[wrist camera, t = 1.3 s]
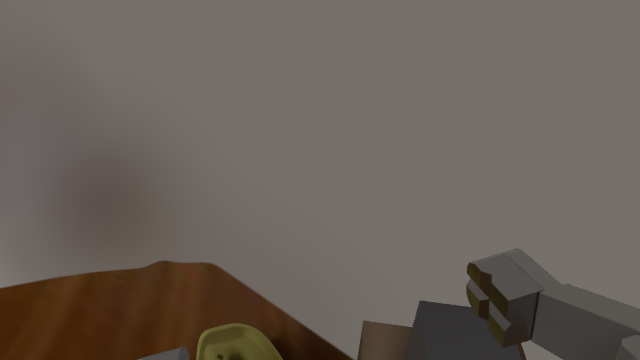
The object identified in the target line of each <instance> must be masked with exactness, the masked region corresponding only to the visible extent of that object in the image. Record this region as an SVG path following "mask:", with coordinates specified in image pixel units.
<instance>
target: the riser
mask: <svg viewBox="0 0 640 360" xmlns="http://www.w3.org/2000/svg"><path fill="white" fill-rule="evenodd" d="M411 331H412V327H405V326H397V325H391V324H383V323H375V322H369V321H363V328H362V334H361V340H360V346H359V353H358V359H357V360H407V352H406V349H407V346H408V342H409V338H410V335H411ZM517 347H518V350H519V353H520V356H521V359H522V360H526V357H525V354H524V351H523V348H522V345H521V343H519V344H517Z"/></svg>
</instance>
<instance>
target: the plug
mask: <svg viewBox="0 0 640 360" xmlns="http://www.w3.org/2000/svg"><path fill="white" fill-rule="evenodd" d="M406 352H407V360H522V359H521V356H520V353H519V350H518V347H517V344H515V345H512V346H509V347H505V348H503V347H502V346H501V345H500V344H499V342H498V341H497V340H496V339H495V337H494V336H493V335H492V333H491V332H490V331H489V330H488V321H487V320H485V319H483V318H480V317H478V315H477V314H476V313H475V311H474V310H473V308H472V307H464V306H457V305H449V304H441V303H434V302H427V301H420V302H419V306H418V309H417V313H416V317H415V320H414V324H413V327H412V331H411V335H410V338H409V342H408V346H407V349H406Z"/></svg>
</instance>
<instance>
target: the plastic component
mask: <svg viewBox="0 0 640 360" xmlns="http://www.w3.org/2000/svg"><path fill="white" fill-rule="evenodd" d="M217 357H220V358H221V359H222V360H283V359H282V357H281V356H280V354H279V353H278V351H277V350H276V348H275V347H274V346H273V344H272V343H271V342H270V341H269V339H268V338H267V337H266V336H265V335H264V334H263V333H261V332H260V331H259V330H257V329H255V328H253V327H251V326H248V325H245V324H237V323H235V324H227V325H223V326H219V327H215V328H211V329H208V330H206V331H204V333H203V334H202V335H201V337H200V339H199V343H198V348H197V355H196V360H220V359H218V358H217Z"/></svg>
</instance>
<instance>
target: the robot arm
mask: <svg viewBox="0 0 640 360" xmlns="http://www.w3.org/2000/svg"><path fill="white" fill-rule="evenodd" d="M467 274H468V275H469V276H470V278H471V279H470V280H469V282H468V283H467V286H466V289H467V296H468V300H469V303H470V305H471V307H472V308H473V310H474V311H475V313H476V314H477V315H478V317H480V318H483V319H485V320H487V321H488V330H489V331H490V332H491V333H492V335H493V336H494V337H495V339H496V340H497V341H498V342H499V344H500V345H501V346H502V347H503V348H505V347H509V346H512V345H515V344H519V343H522V342H526V341H529V340H532V342H534V343H535V344H537V345H539V346H541V347H543V348H544V349H546V350H547V351H549V352H551V353H553V354H554V355H556V356H558V357H560V358H561V359H563V360H640V309H638V308H636V307H633V306H630V305H627V304H624V303H621V302H618V301H616V300H613V299H610V298H607V297H604V296H601V295H598V294H595V293H592V292H590V291H587V290H584V289H581V288H578V287H575V286H572V285H570V284H564V285H561V284H560V283H559V282H558V281H557V280H556V279H555V278H554V277H552V276H551V275H550V274H549V273H548V272H547V271H545V270H544V269H543V268H542V267H541V266H539V264H537V263H536V262H535V261H534V260H533V259H532V258H530V257H529V256H528V255H527V254H526V253H525V252H523V251H522V250H520V249H513V250H510V251H507V252H503V253H501V254H497V255H493V256H490V257H487V258H483V259H480V260H477V261H473V262H470V263H469V264H468V266H467ZM138 360H189V354H188V352H187V351H186V349H185V348H178V349H174V350H171V351H167V352H163V353H159V354H156V355H152V356H148V357H144V358H142V359H138Z"/></svg>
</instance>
